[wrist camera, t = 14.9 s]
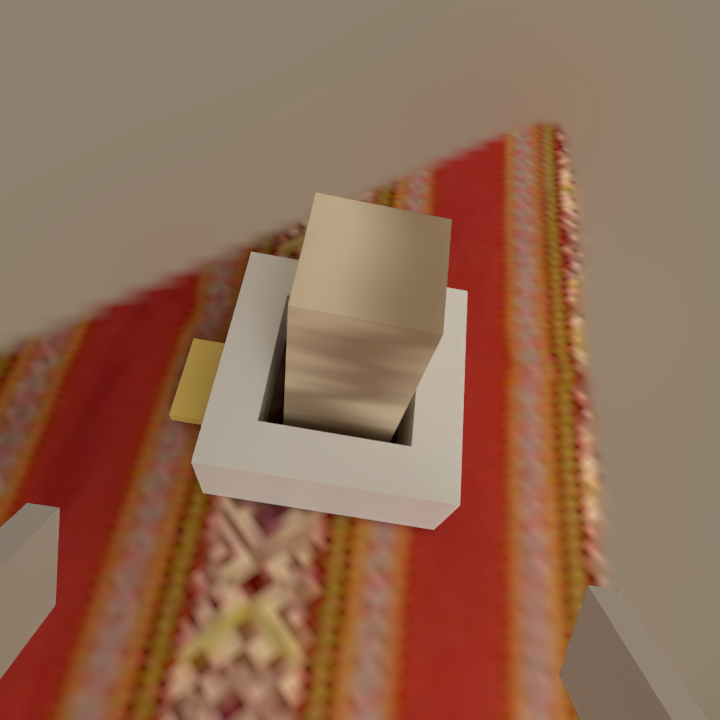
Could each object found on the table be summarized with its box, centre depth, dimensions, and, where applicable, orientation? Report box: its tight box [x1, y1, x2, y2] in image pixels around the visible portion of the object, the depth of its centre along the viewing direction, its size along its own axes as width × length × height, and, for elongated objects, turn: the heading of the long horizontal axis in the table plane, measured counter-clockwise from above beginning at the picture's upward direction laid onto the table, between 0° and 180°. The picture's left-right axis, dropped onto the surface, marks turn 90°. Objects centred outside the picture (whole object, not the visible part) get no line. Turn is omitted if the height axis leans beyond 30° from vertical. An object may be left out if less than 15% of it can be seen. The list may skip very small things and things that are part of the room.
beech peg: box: [283, 193, 452, 443], centre depth 22 cm, size 4×4×11 cm
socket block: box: [169, 252, 467, 530], centre depth 25 cm, size 12×10×4 cm
